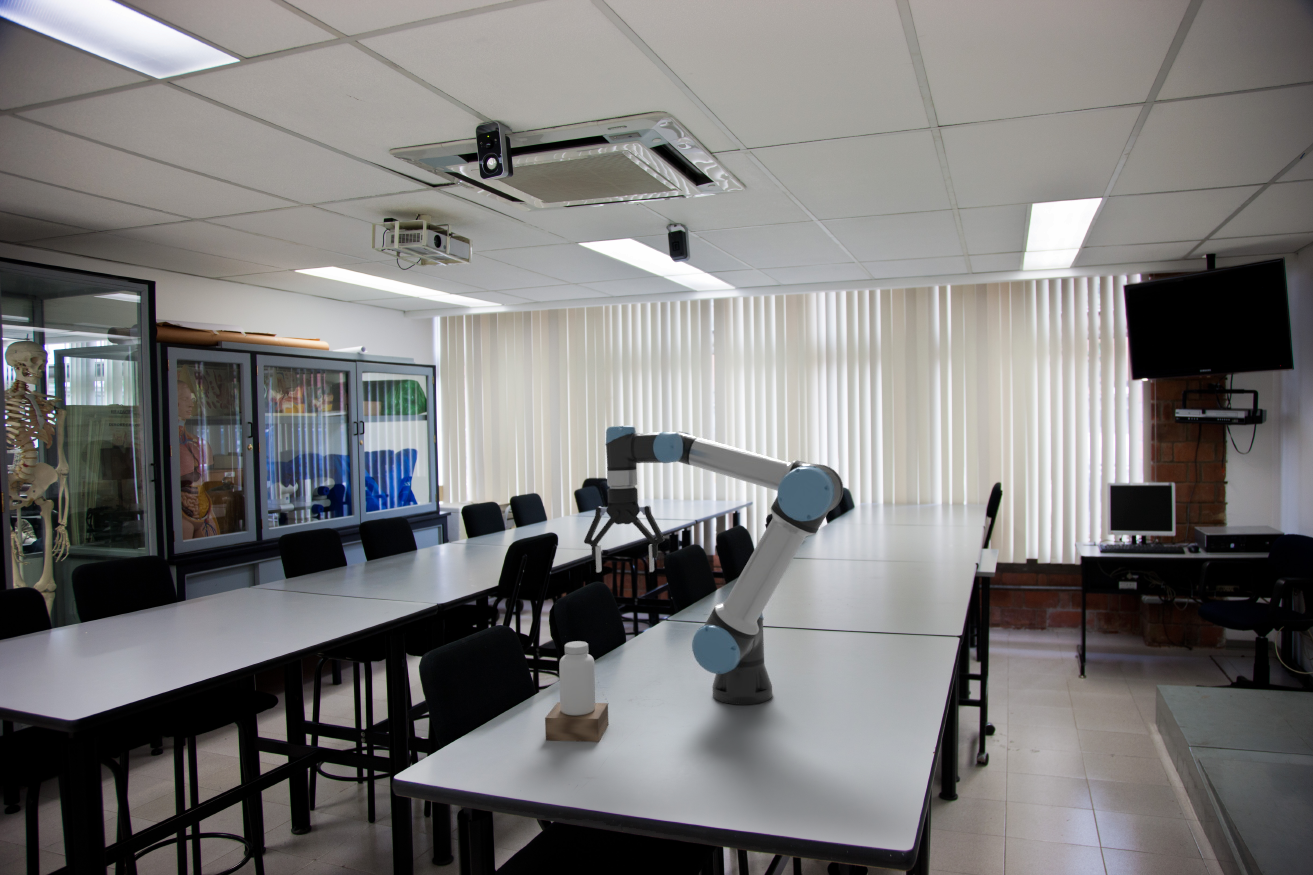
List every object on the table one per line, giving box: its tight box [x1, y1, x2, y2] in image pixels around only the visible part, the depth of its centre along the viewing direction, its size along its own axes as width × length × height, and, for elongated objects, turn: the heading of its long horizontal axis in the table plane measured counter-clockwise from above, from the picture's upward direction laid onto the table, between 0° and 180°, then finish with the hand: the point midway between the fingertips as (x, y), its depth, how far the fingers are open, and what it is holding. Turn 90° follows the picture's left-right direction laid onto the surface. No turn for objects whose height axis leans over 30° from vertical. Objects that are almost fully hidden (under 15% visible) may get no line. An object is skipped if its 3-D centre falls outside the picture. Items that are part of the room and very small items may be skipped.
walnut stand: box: [544, 701, 609, 743], centre depth 172 cm, size 12×10×5 cm
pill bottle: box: [558, 640, 596, 716], centre depth 172 cm, size 8×8×15 cm
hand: (625, 571), depth 192 cm, fingers open, 13 cm apart
